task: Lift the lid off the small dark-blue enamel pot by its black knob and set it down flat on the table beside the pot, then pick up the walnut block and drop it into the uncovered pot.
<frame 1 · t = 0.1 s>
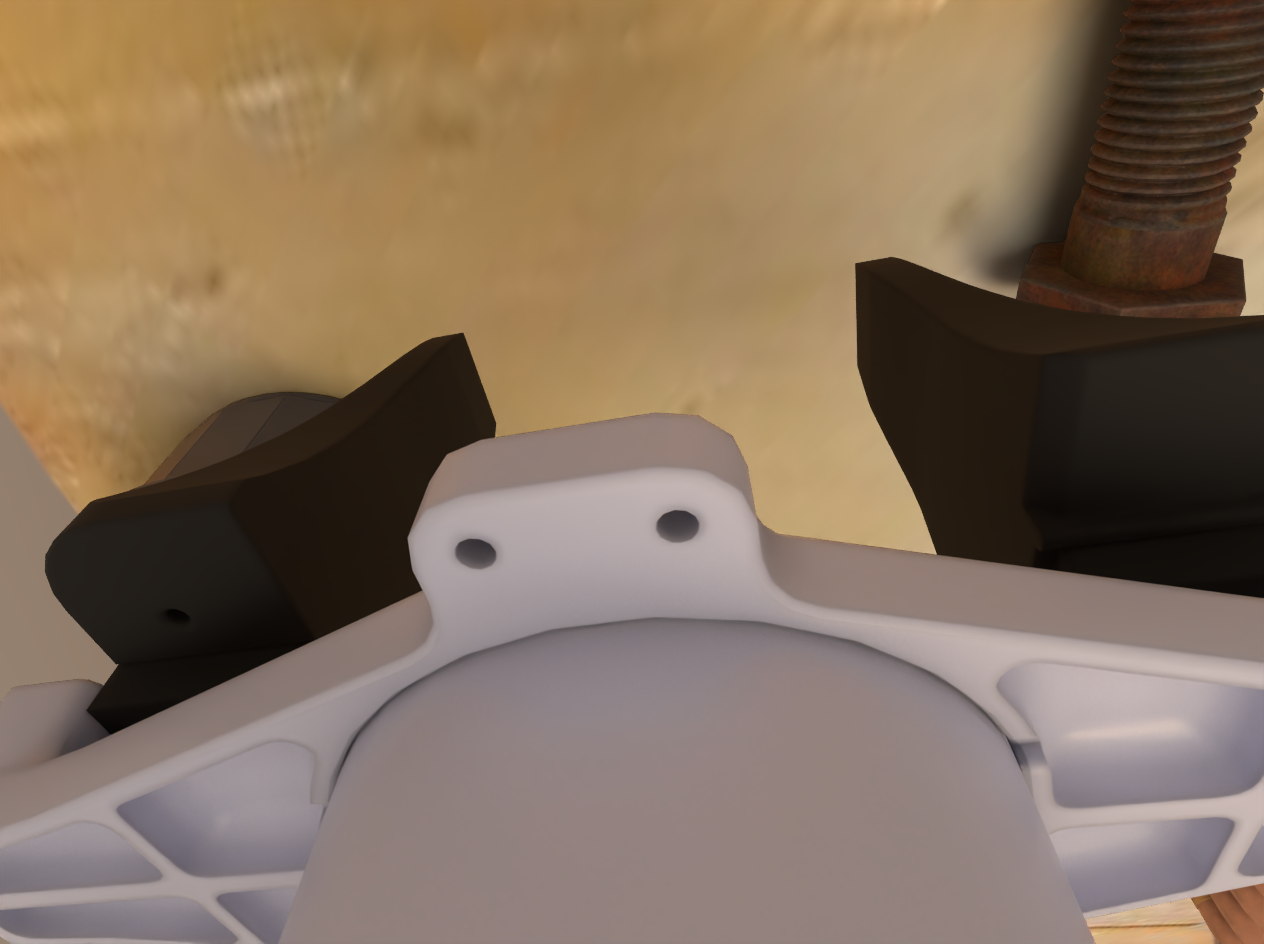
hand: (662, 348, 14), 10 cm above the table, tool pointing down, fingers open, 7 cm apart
pot: (330, 514, 30), on the table
ammunition clip: (1105, 637, 33), on the table
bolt: (1150, 3, 19), on the table
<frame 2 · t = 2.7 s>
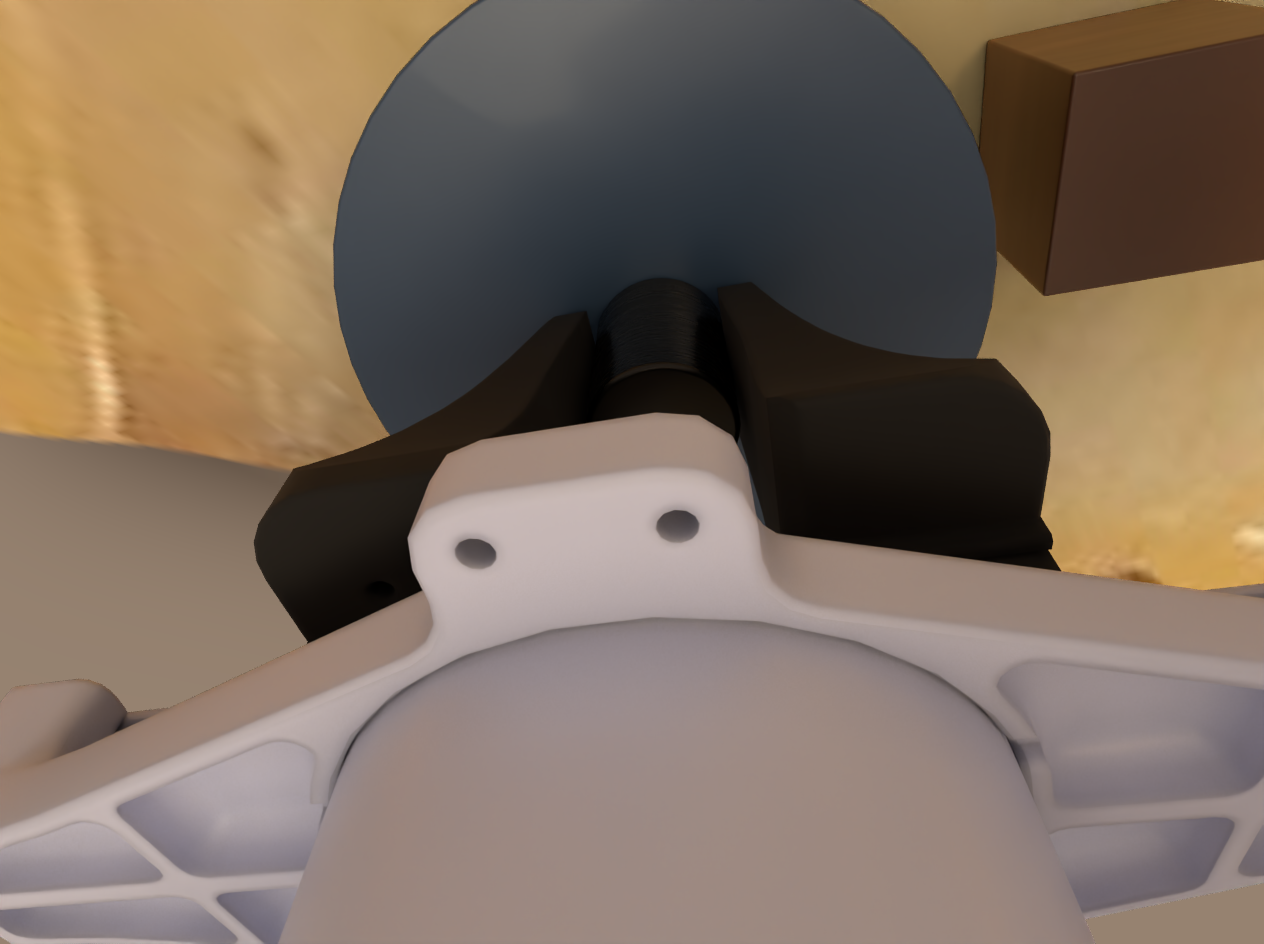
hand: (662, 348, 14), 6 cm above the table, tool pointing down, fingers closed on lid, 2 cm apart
block: (1074, 122, 17), on the table
lid: (660, 325, 15), point 5 cm above the table, touching gripper, pot
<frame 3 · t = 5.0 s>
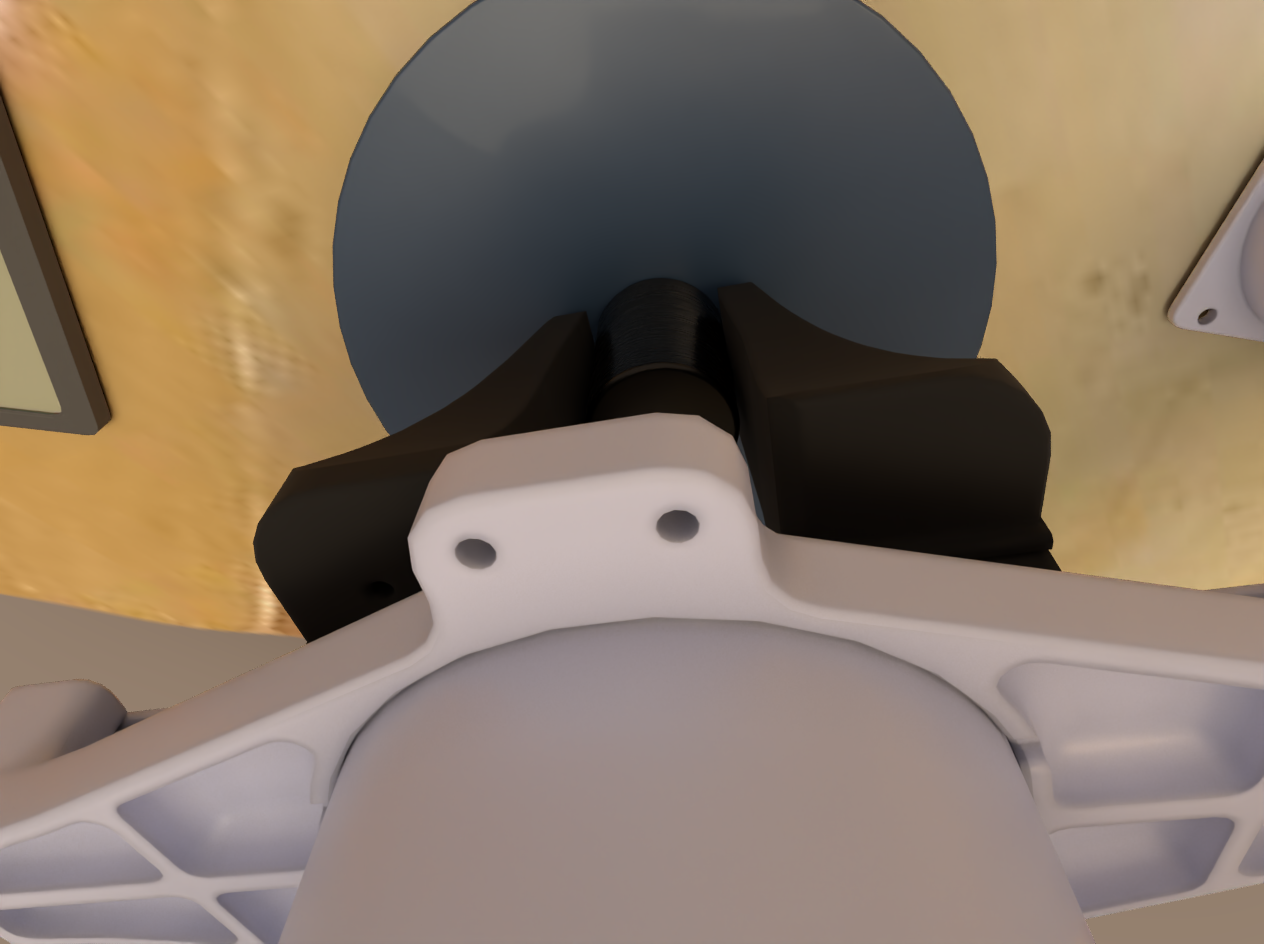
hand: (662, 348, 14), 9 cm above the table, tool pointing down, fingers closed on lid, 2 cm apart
lid: (659, 325, 15), point 8 cm above the table, touching gripper
when the fingers open (2 cm above the table, at t = 7.1 s): lid stays where it is, point 1 cm above the table.
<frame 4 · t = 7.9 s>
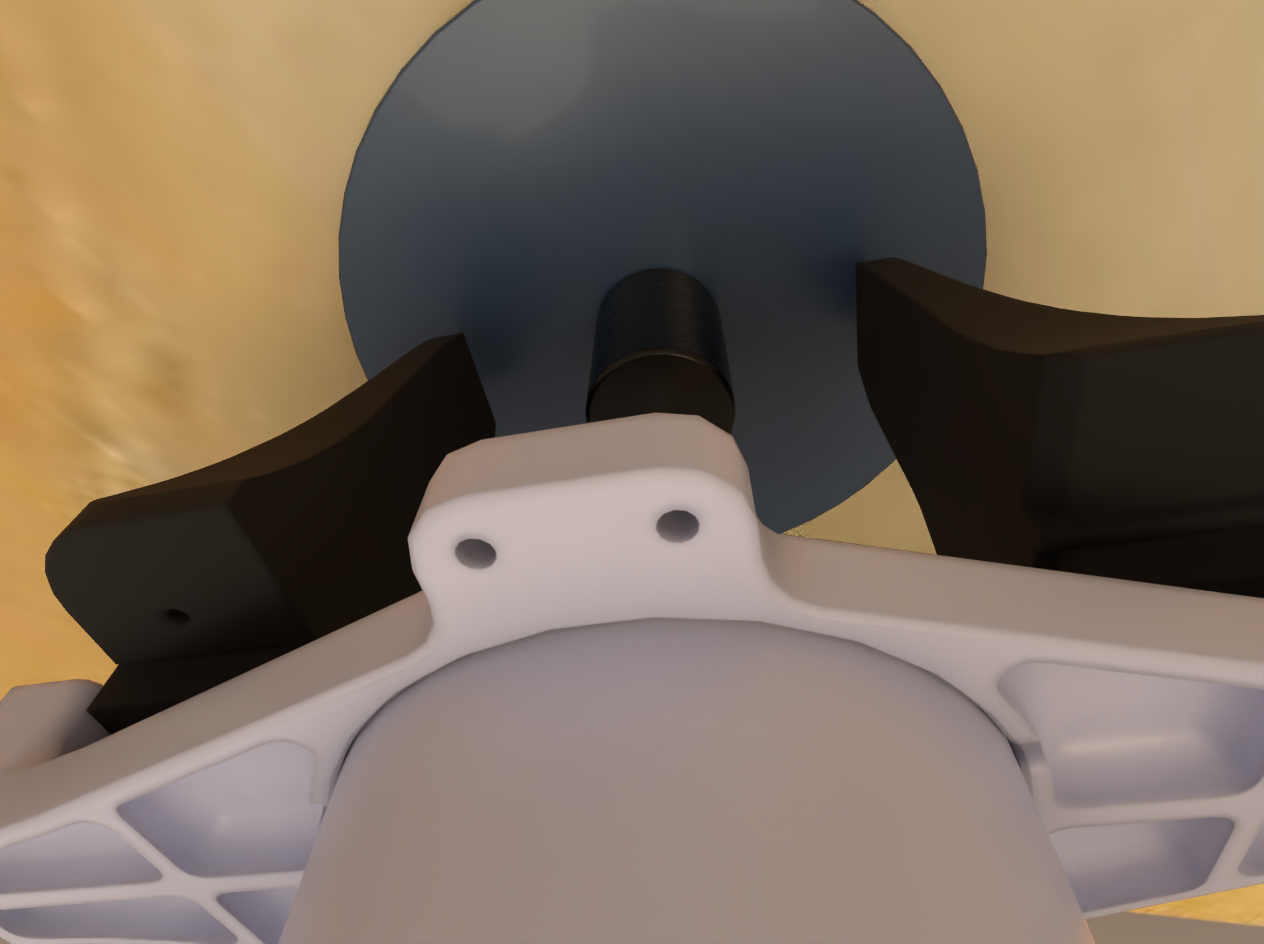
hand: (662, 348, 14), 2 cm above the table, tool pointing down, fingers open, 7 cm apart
lid: (658, 315, 15), point 1 cm above the table
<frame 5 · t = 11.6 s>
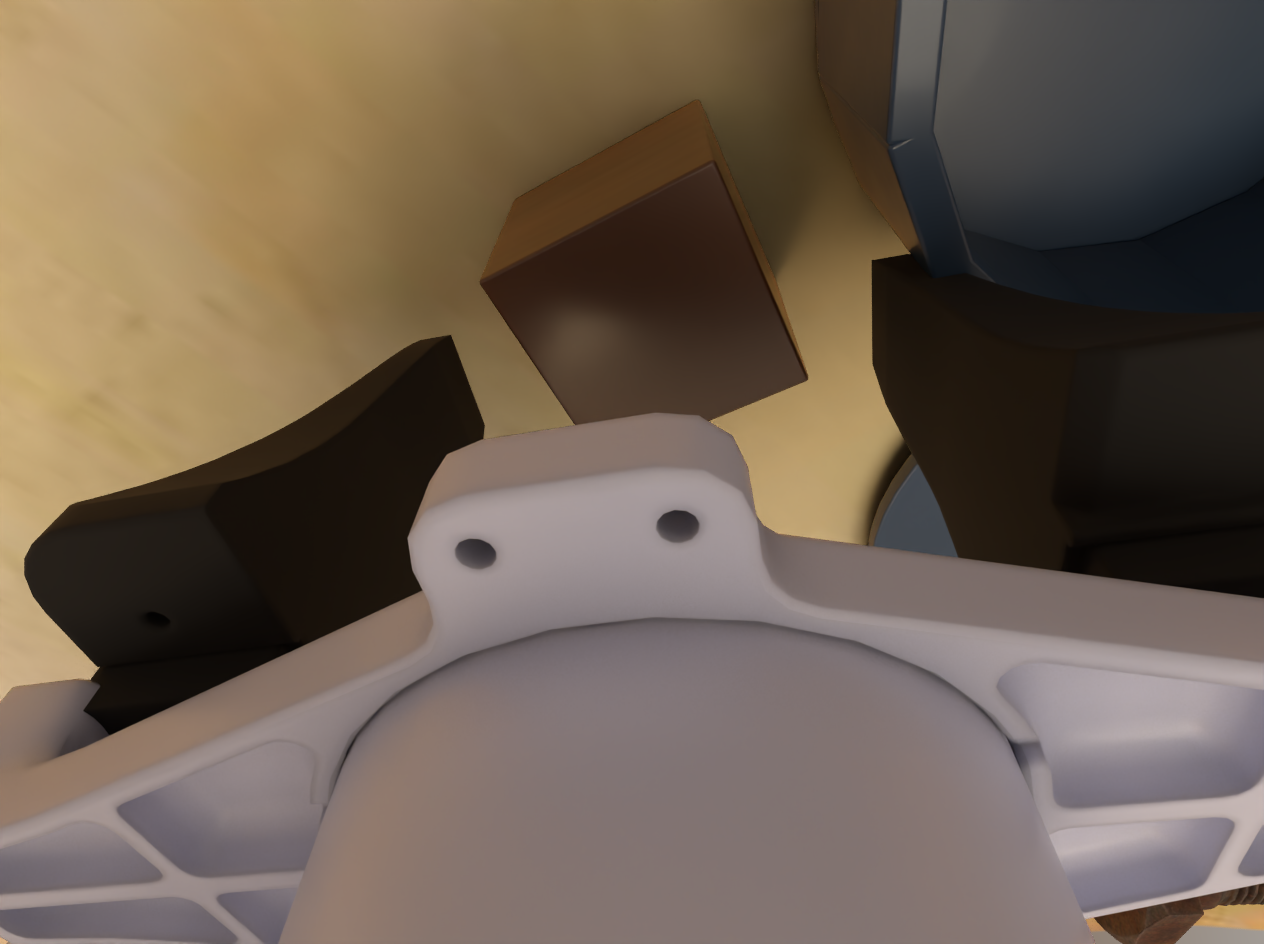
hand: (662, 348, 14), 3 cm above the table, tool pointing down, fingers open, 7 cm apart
block: (649, 242, 16), on the table
lid: (1099, 529, 20), point 1 cm above the table
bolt: (1261, 786, 29), on the table
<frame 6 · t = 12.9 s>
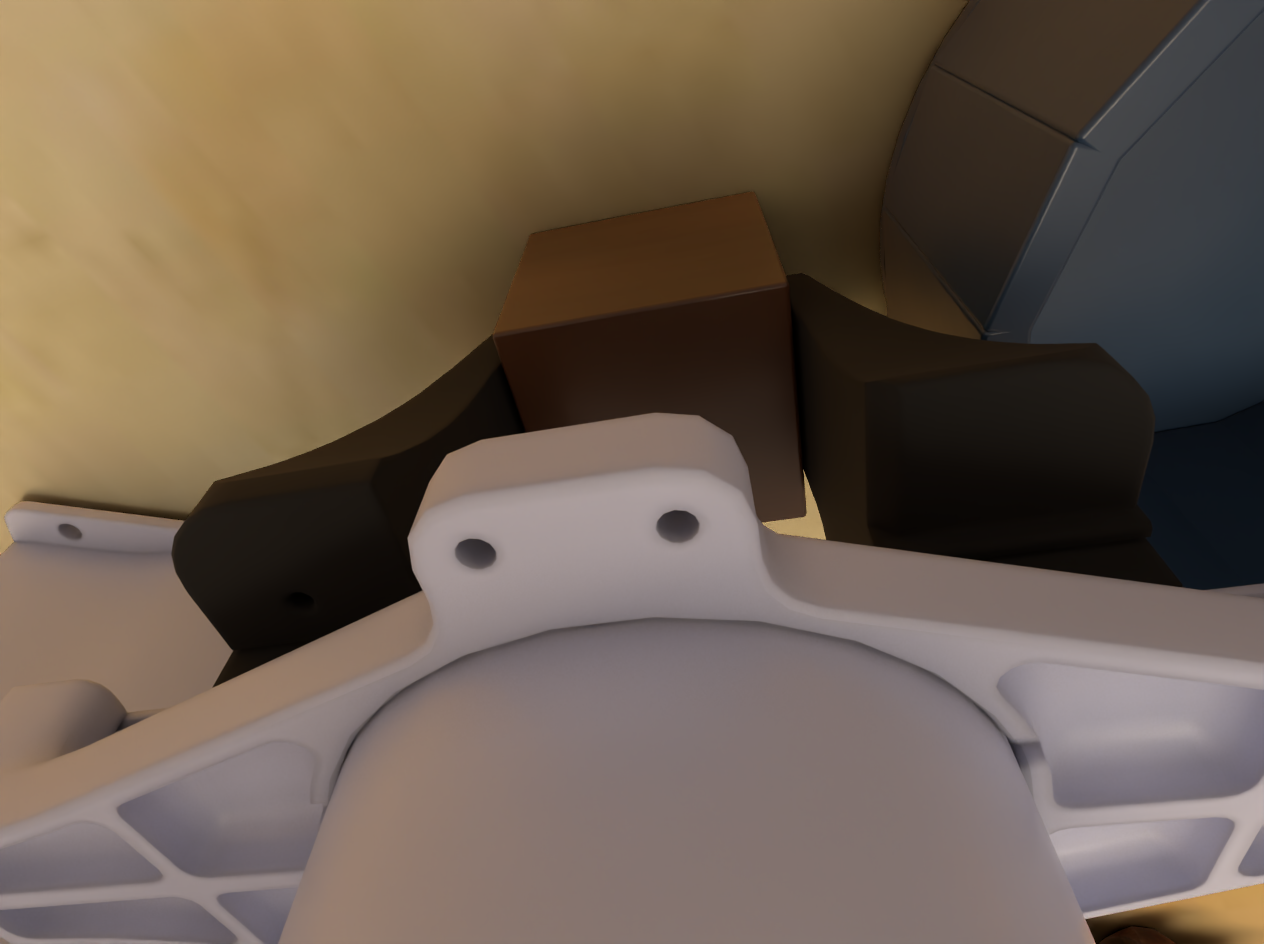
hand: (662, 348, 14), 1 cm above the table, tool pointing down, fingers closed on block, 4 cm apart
block: (659, 316, 15), on the table, touching gripper
pot: (1203, 185, 13), on the table
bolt: (1056, 925, 31), on the table
when the fingers open (2 cm above the table, at t = 17.4 s): block stays where it is, resting on pot.
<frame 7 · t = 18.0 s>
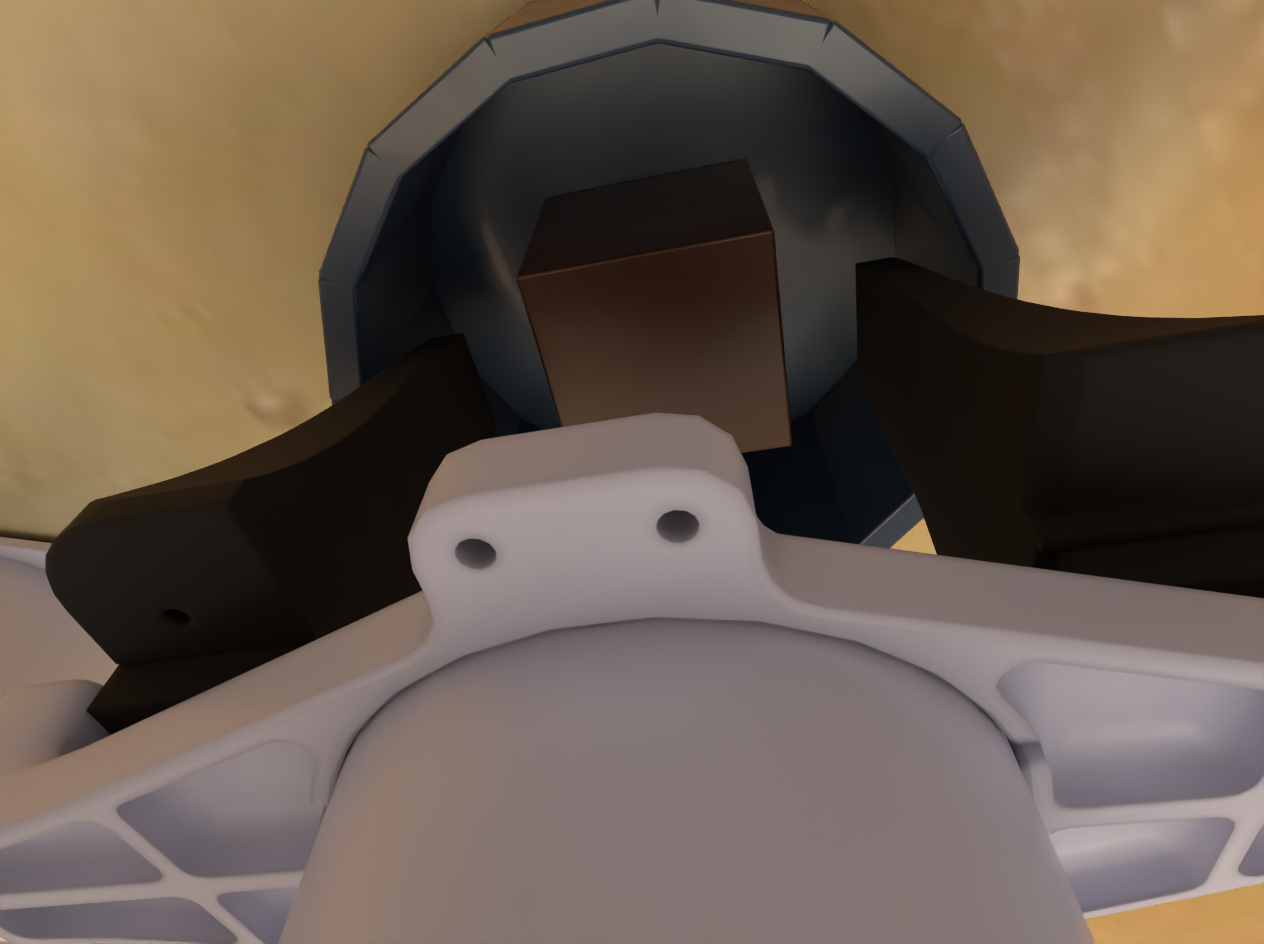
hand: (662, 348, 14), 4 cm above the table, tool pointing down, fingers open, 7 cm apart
block: (661, 275, 17), resting on pot
pot: (661, 269, 17), on the table
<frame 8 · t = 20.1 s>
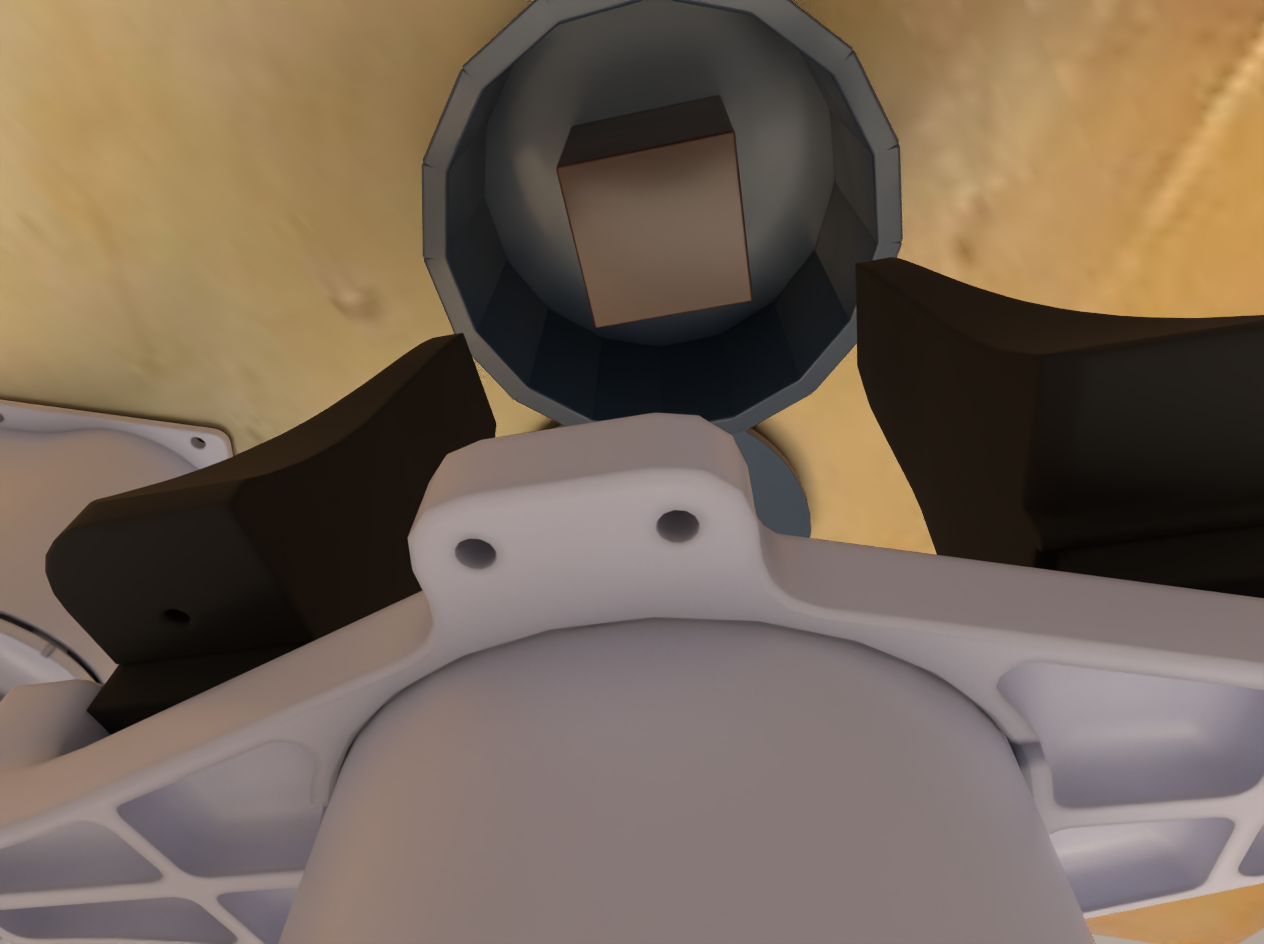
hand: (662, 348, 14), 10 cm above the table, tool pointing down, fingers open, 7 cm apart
block: (658, 187, 22), resting on pot
pot: (657, 184, 22), on the table
lid: (651, 533, 30), point 1 cm above the table
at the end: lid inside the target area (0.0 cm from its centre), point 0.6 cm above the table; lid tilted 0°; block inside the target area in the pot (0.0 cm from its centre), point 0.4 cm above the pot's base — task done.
